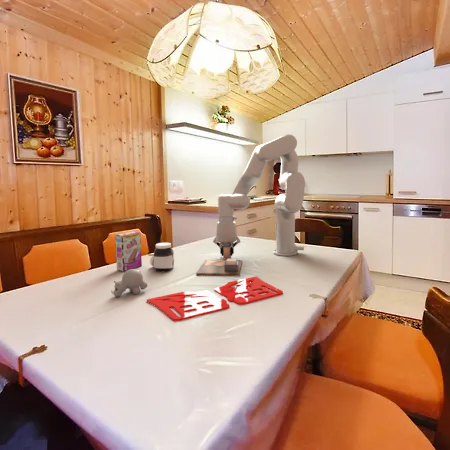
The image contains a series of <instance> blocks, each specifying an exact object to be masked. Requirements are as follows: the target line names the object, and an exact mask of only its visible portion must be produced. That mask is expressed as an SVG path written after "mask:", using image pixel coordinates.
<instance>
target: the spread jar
mask: <svg viewBox="0 0 450 450" xmlns="http://www.w3.org/2000/svg"><path fill="white" fill-rule="evenodd" d="M174 253H175V252H174V250H173V248H172V243H171V242H158V243H156V244H155V249H154V252H153V254H152V255H151V258H150V260H149V264H150V265H151V266H152V267H153V268H154V269H155V270H156V271H157V272H162V271H164V272H169V270H170V271H172V270H173V269H174V266H175V254H174Z"/></svg>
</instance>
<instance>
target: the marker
mask: <svg viewBox="0 0 450 450" xmlns="http://www.w3.org/2000/svg"><path fill="white" fill-rule="evenodd" d="M230 248H231V243H230V242H223V256H222V258H223V259H224V258H225V259H224V260H227V259H232V256H231V252H230Z"/></svg>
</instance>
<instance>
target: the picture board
mask: <svg viewBox="0 0 450 450" xmlns="http://www.w3.org/2000/svg"><path fill="white" fill-rule="evenodd" d="M236 260H237V262H239V269H238V272H224V265H225V262H226V261H227V259H205V260H204V261H203V262H202V264H201V265H200V267H199V268H198V270H197V271H196V273H195V275H196V276H199V275H203V276H204V275H205V276H206V277H207V276H208V277H209V276H210V277H211V276H212V277H214V276H216V277H217V276H218V277H221V276H224V277H225V276H227V277H228V276H229V277H239V276H240V273H241V270H242V269H241V268H242V265H243V259H236ZM203 276H202V277H203Z"/></svg>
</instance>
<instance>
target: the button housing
mask: <svg viewBox="0 0 450 450" xmlns="http://www.w3.org/2000/svg"><path fill="white" fill-rule="evenodd" d="M238 269H239V262H237V265H226V262H225V265H224V272H238Z"/></svg>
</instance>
